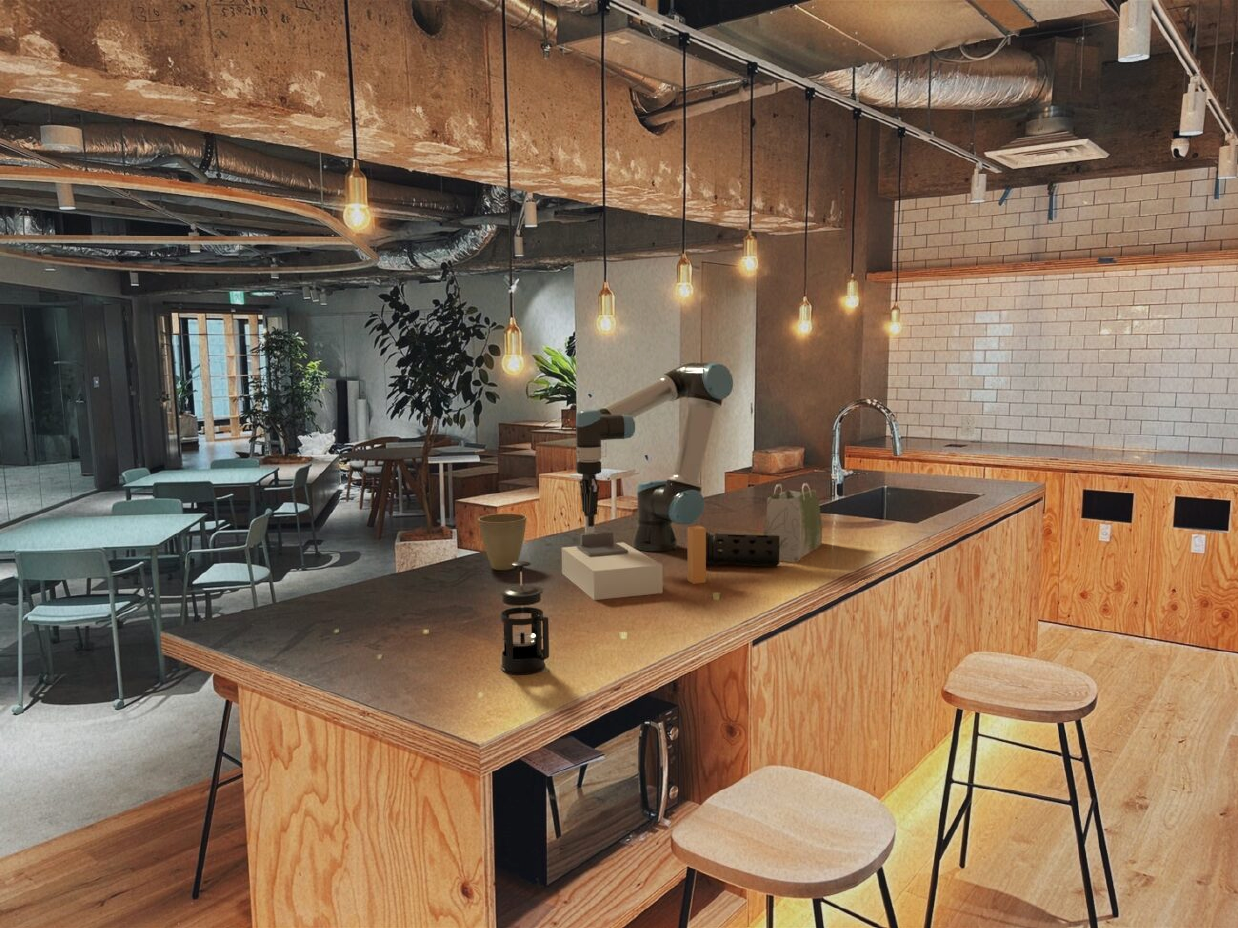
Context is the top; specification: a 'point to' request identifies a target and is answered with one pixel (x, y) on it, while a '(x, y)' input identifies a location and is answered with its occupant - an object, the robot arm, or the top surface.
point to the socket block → (612, 573)
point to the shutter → (599, 544)
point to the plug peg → (697, 554)
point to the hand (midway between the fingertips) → (589, 536)
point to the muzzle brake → (743, 549)
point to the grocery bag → (794, 522)
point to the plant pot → (502, 538)
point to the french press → (522, 647)
